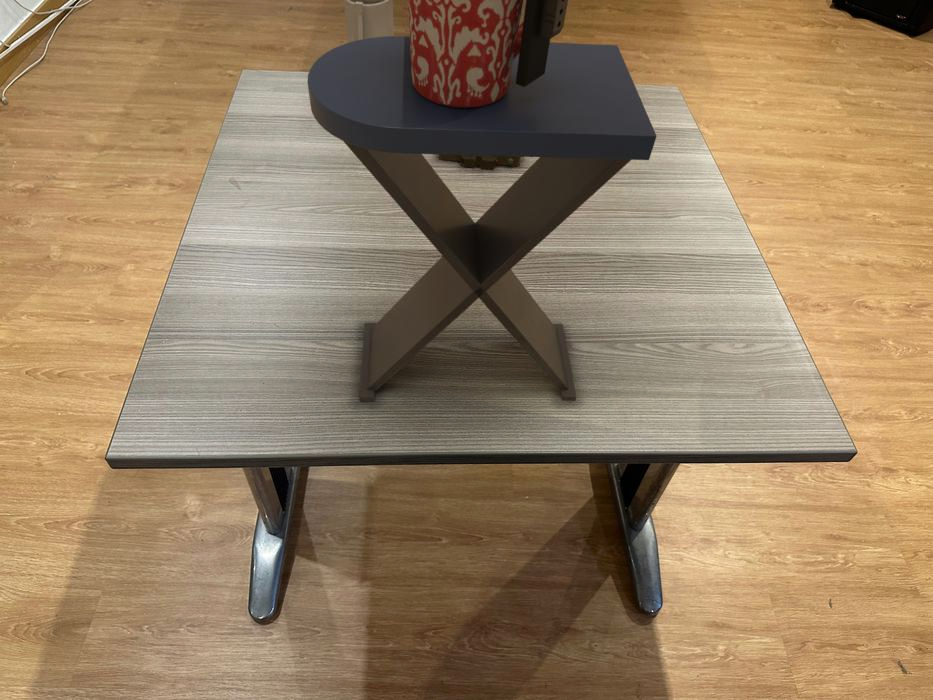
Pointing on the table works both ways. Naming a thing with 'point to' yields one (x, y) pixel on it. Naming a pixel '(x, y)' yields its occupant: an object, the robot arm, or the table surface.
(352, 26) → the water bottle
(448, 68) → the mug
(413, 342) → the x-leg side table
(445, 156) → the landmine
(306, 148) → the table surface
